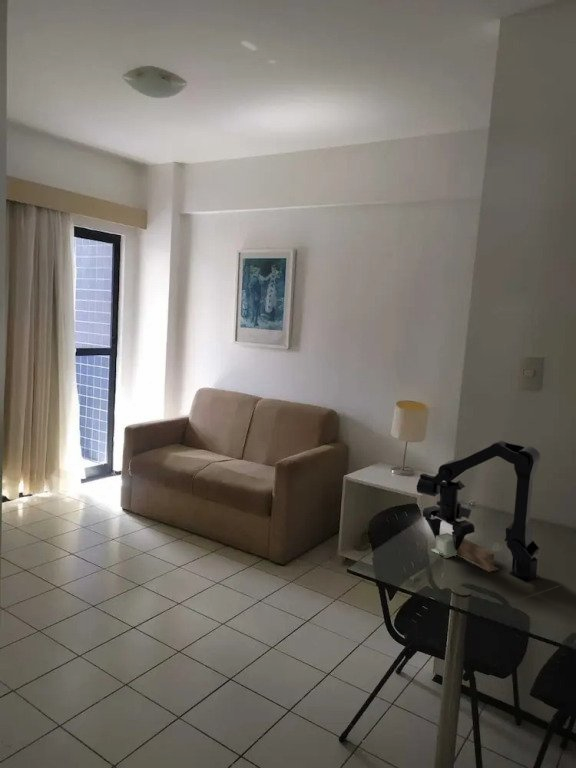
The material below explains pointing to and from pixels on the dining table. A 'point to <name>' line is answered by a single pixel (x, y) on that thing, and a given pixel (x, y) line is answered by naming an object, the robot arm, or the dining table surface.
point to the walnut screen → (477, 554)
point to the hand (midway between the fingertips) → (446, 544)
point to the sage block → (445, 544)
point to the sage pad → (437, 551)
